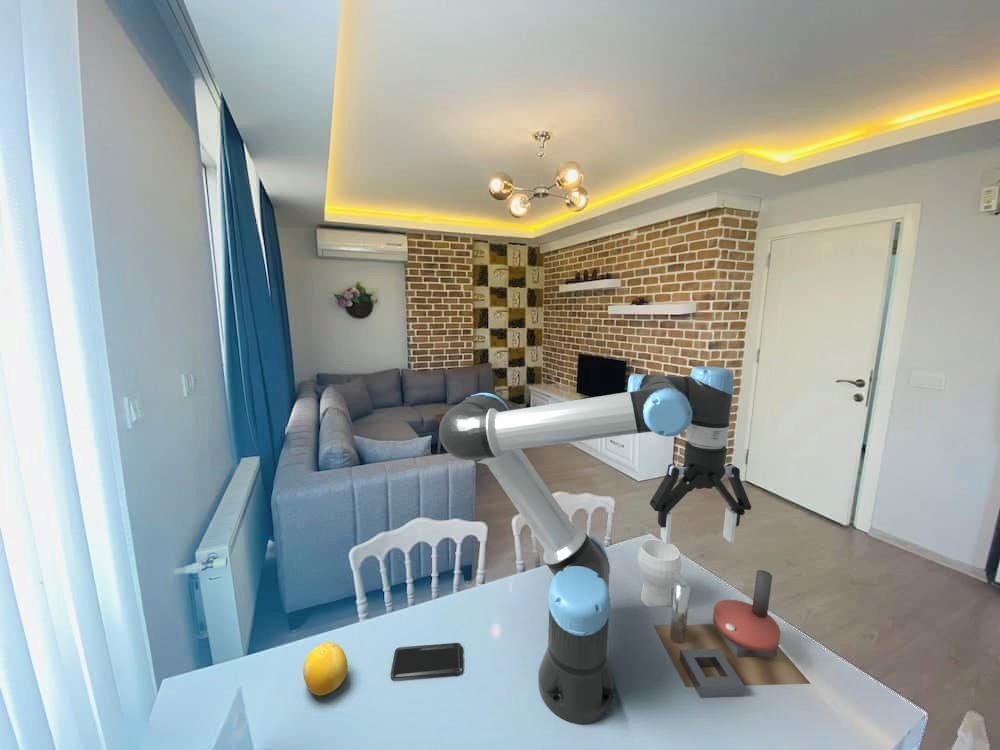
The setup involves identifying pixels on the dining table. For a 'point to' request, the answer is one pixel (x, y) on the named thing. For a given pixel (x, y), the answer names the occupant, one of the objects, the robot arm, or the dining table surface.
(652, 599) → the cup
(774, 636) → the handwheel
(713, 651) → the eye
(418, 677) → the phone
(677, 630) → the hook peg
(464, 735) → the dining table surface
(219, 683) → the dining table surface
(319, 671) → the fruit
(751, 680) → the board
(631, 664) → the dining table surface
